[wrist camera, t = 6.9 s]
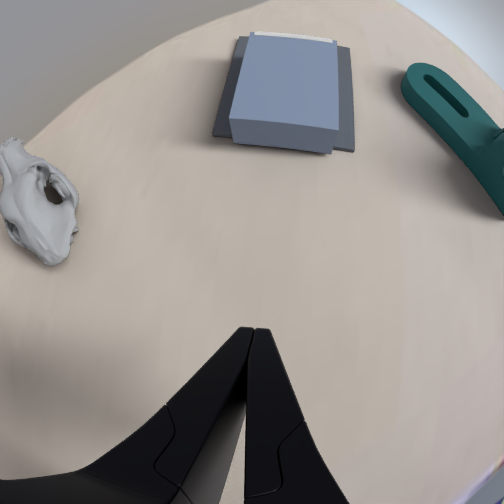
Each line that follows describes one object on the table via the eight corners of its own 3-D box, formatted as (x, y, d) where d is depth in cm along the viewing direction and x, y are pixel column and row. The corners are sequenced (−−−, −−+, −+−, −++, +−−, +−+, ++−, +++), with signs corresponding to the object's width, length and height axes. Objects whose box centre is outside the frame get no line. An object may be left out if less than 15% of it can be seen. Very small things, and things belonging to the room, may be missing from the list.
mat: (353, 152, 25) (354, 149, 24) (213, 136, 26) (212, 133, 25) (348, 50, 28) (349, 47, 27) (239, 38, 29) (239, 36, 28)
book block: (338, 129, 21) (336, 40, 23) (228, 117, 22) (250, 31, 24) (330, 154, 24) (331, 65, 27) (233, 143, 25) (252, 57, 27)
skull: (31, 293, 21) (-54, 185, 15) (55, 250, 28) (-10, 165, 22) (94, 236, 21) (3, 112, 15) (107, 204, 29) (41, 112, 22)
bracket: (527, 188, 24) (570, 158, 16) (506, 222, 23) (557, 192, 15) (421, 69, 27) (444, 21, 20) (388, 87, 27) (411, 32, 19)
